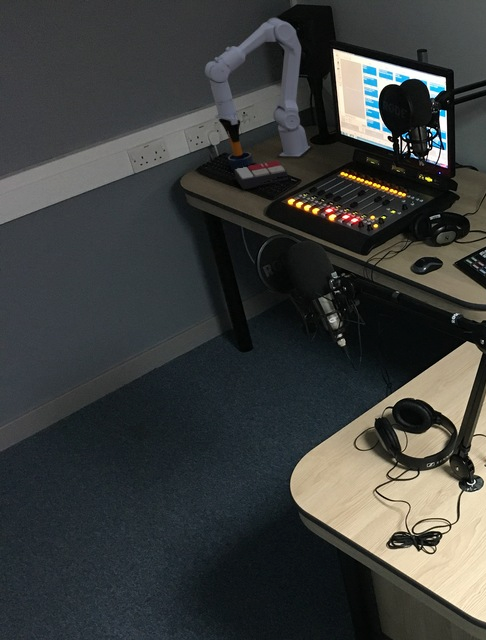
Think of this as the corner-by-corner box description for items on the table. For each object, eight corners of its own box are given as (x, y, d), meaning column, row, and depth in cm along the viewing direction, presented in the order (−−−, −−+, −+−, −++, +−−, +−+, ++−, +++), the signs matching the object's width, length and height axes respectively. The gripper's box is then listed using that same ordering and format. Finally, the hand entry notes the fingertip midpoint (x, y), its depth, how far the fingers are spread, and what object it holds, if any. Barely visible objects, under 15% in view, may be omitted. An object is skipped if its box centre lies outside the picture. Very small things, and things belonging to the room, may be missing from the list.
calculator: (286, 169, 276) (240, 177, 270) (289, 181, 278) (243, 190, 272) (278, 159, 284) (233, 167, 278) (280, 171, 286) (235, 179, 280)
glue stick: (236, 152, 289) (230, 128, 284) (244, 152, 288) (238, 128, 283) (232, 155, 286) (225, 131, 281) (240, 156, 286) (233, 131, 281)
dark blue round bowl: (237, 162, 294) (235, 151, 292) (258, 163, 292) (255, 152, 290) (226, 171, 288) (223, 160, 286) (247, 171, 286) (244, 160, 284)
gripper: (206, 97, 280) (217, 137, 288) (217, 107, 270) (228, 149, 278) (226, 93, 283) (237, 132, 291) (239, 103, 272) (249, 143, 280)
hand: (234, 140), depth 284 cm, fingers closed on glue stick, 3 cm apart
